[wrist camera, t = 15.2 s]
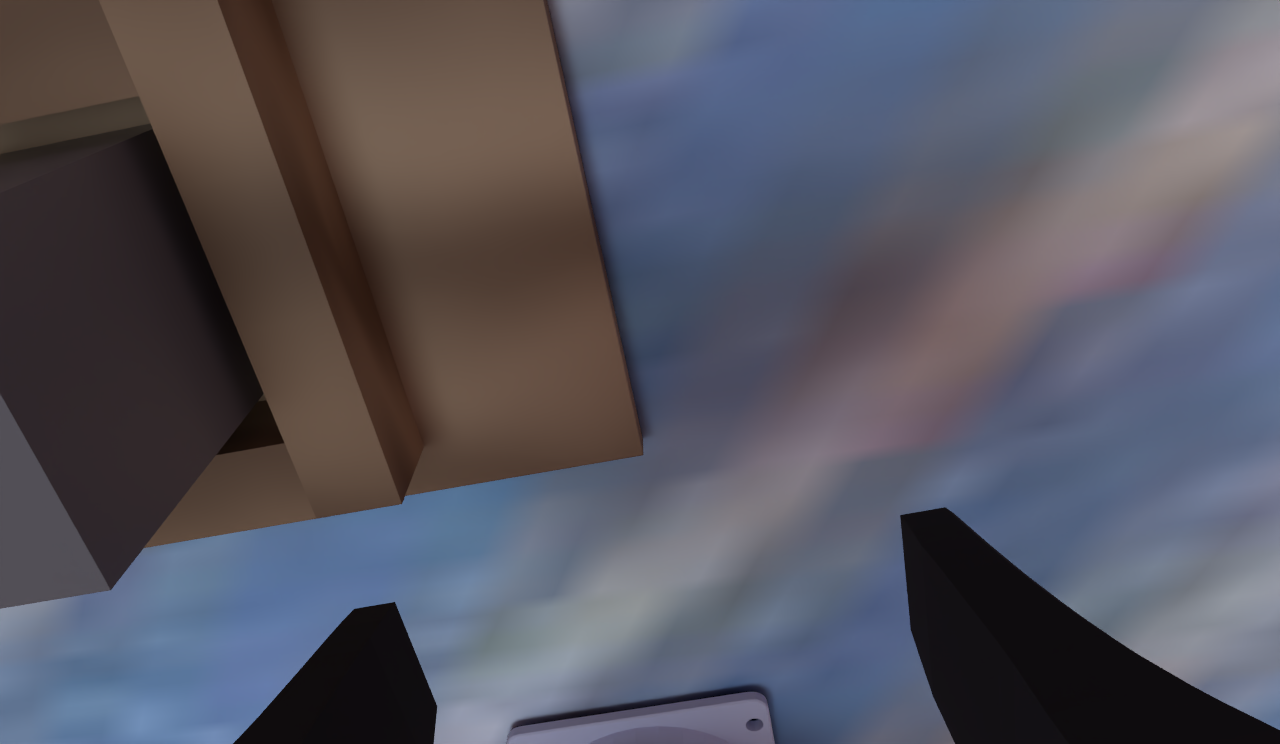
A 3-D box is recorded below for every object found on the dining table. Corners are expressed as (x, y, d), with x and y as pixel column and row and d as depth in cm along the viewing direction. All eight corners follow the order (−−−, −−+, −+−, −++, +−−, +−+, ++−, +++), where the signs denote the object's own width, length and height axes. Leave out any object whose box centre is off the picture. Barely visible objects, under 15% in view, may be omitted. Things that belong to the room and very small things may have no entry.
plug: (282, 370, 22) (110, 590, 14) (123, 399, 22) (-123, 629, 15) (179, 117, 19) (-92, 230, 12) (1, 154, 19) (-370, 287, 12)
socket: (642, 439, 24) (645, 512, 21) (-75, 562, 25) (-170, 648, 22) (507, -181, 17) (483, -204, 14) (-431, 28, 19) (-627, 46, 16)
